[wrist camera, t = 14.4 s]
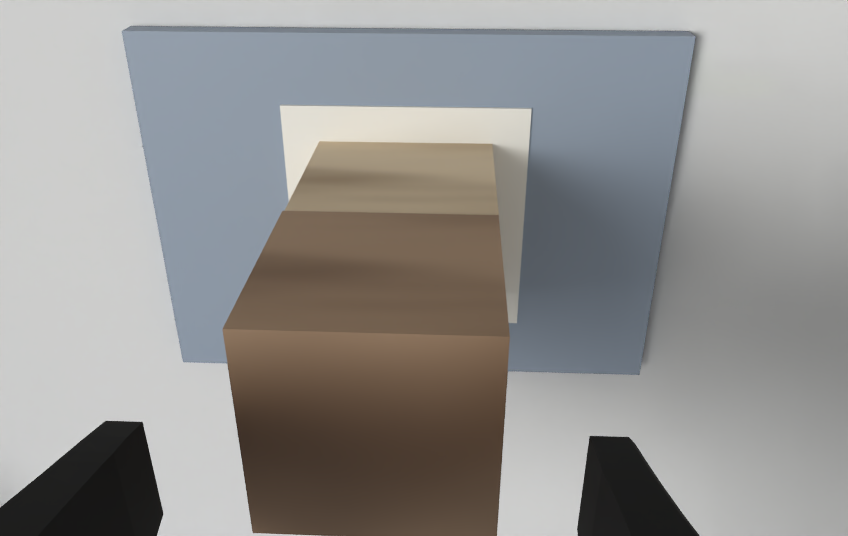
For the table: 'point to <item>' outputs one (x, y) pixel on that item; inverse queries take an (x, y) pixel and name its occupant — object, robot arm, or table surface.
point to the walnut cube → (372, 375)
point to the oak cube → (398, 179)
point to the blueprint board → (424, 123)
